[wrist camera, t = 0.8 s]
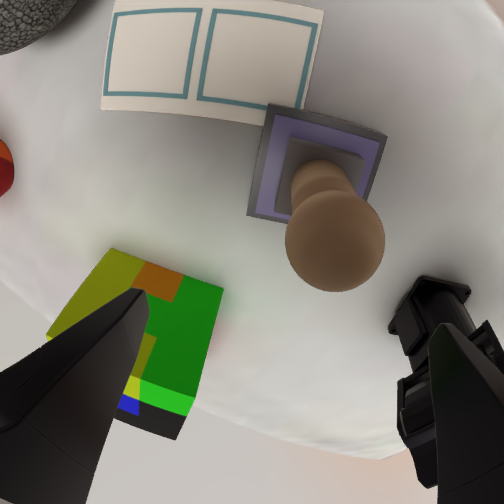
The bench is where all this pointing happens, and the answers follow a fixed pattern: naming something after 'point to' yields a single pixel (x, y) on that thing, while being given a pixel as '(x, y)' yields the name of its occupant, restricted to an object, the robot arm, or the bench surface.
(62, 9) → the decorative ball
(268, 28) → the print card
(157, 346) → the puzzle toy
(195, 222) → the bench surface
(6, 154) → the paper cup
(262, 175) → the ink pad
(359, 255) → the stamp
